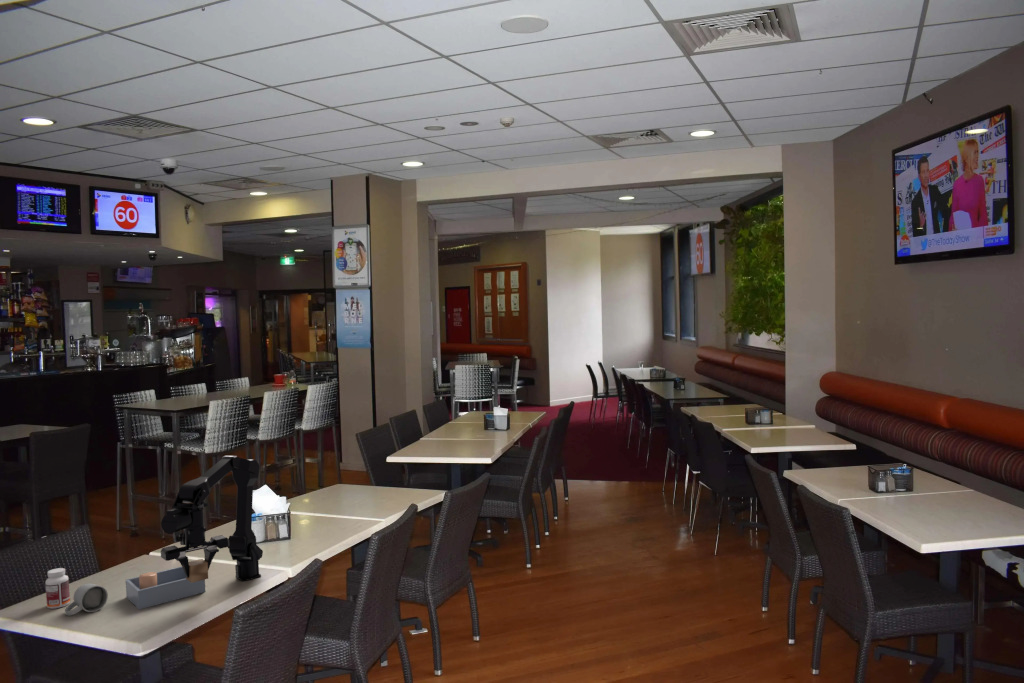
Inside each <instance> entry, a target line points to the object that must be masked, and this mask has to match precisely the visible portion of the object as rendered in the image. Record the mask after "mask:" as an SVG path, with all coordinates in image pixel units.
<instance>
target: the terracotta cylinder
mask: <svg viewBox="0 0 1024 683" xmlns="http://www.w3.org/2000/svg"><path fill="white" fill-rule="evenodd" d="M138 577H139V586H140V590H141V589H145V588H149V587H153V586H157V573H156V571H149V572H144V573H142V574H140V575H139V576H138Z"/></svg>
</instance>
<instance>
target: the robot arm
mask: <svg viewBox="0 0 1024 683" xmlns="http://www.w3.org/2000/svg"><path fill="white" fill-rule="evenodd" d="M230 472H231V473H232V480H233V481H234V483H235V485H236V491H237V492H236V513H235V515H236V516H235V530H234V532H233V534H231V535H229V536H228V537H226V536H225V535H223V534H220V535H215V536H211V537H210V539H209V540H206V532H207V528H206V527H205V510H204V509H205V508H207V507H209V503H207V502H206V501H205V500H206V499H207V498H208V496H210V494H211V490H212V488H213V487H214V486H216V484H218V483H219V482H220V481H221V480H223V478H224V477H226V476H227V475H228V474H229V473H230ZM259 474H260V462H258V461H257V460H256V459H245V458H242V457H239V456H237V455H224V456H221V458H220V460H218V461H217V463H215V464H214V465H213V466H211V468H209V469H208V470H207V471H206V472H205V473H203V474H202V475H200V476H199V477H198V478H195V479H192V480H191V479H190V480H189V481H187V482H185V483H183V484H182V485H181V486H180V487H179V490H178V492H177V494H176V497H175V499H174V501H173V504H172V506H171V509H167V510H166V512H165V513H166V514H165V515H164V516H163V517H162V520H161V523H160V525H161V528H162V531H163V532H164V533H166V534H168V535H172V539H173V543H174V544H176V543H179V544H180V546H181V547H178V546H176V545H174V544H173V545H169V546H166V547H162V548H161V549H160V558H161V559H163V560H165V561H167V562H168V561H173V560H176V561H177V562H179V563H180V566H182V567H183V570H184V572H185V574H186V576H187V578H189V563H188V562H189V557H188V556H187V555H186V554H187V553H190V552H194V551H199V550H203V553H204V560H205V561H206V562H208V571H209V570H210V567H211V564H212V562H213V559H214V558H215V556H216V554H217V553H219V551H220V549H224V548H227V549H228V552H229V554H230V557H231V559H232V561H236V564H235V566H234V567H235V578H236V579H238V580H240V581H242V582H245V581H249V580H252V579H257V578H260V577H262V574H261V573H260V568H259V567H260V565H259V560H261V559H262V558H263V555H264V554H263V553H264V551H263V549H262V548H260V547H259V545H258V544H257V537H256V535H255V533H254V530H252V522H253V498H254V497H253V495H254V494H253V493H254V485H255V483H256V482H257V481H258V478H259ZM181 531H183V532H181Z"/></svg>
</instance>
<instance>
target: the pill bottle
mask: <svg viewBox="0 0 1024 683" xmlns="http://www.w3.org/2000/svg"><path fill="white" fill-rule="evenodd" d="M47 577H48V578H47V579H46V580H45V583H44V584H45V585H44V586H45V595H46V596H45V597H46V606H47V608H48V609H51V610H54V609H60V608H64V607H67V606H69V605H70V604H71V595H70V593H71V592H70V582H69V581H70V580H69V579H70V578H69V576H68V575H66V568H63V567H59V568H58V567H57V568H53V569H50V570H48V571H47Z"/></svg>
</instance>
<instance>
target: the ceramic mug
mask: <svg viewBox="0 0 1024 683" xmlns="http://www.w3.org/2000/svg"><path fill="white" fill-rule="evenodd" d="M108 596H109V594H108V590H107V589H106V588H105V587H104V585H103V586H102V585H100V584H99V585H98V584H94V583H84V584H82V585H80V586H79V587H77V589H76V590H75V591H74V593H73V601H72V602H70V603H69V604H68V605H67V606H65V607H66V608H64V614H66V616H69V617H71V616H73V615H76V614H78V613H79V612H81V611H85V612H86V613H95V612H98V611H100V610H101V609H102V608H103V607H104V606H105V605H106V604H107V601H108V598H109V597H108Z"/></svg>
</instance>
